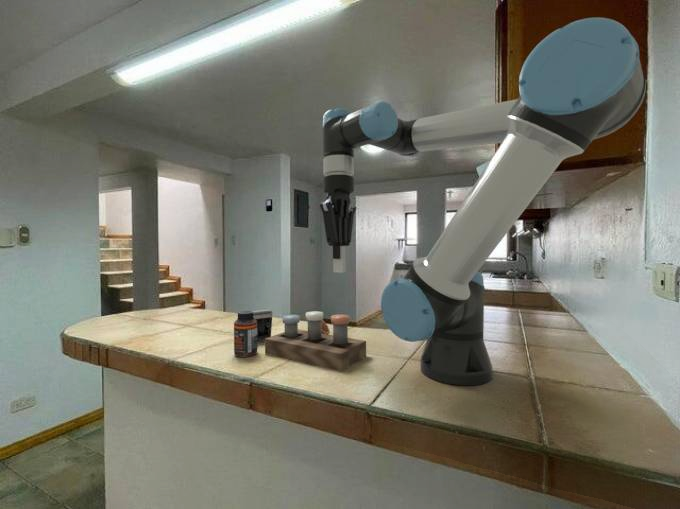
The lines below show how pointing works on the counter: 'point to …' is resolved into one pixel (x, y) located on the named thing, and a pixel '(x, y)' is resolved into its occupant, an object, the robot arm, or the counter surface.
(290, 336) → the grey cylindrical piece
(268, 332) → the electrical switch
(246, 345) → the supplement bottle
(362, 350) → the wooden peg holder
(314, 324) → the key white
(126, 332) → the counter surface
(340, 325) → the key red
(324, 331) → the fruit slice
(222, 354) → the counter surface
